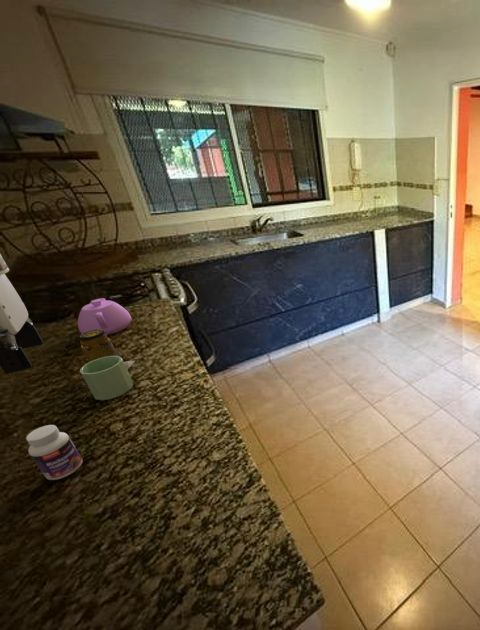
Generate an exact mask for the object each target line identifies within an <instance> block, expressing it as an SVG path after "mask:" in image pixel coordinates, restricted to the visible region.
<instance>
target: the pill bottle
mask: <svg viewBox="0 0 480 630" xmlns="http://www.w3.org/2000/svg"><path fill="white" fill-rule="evenodd" d="M25 440H26V442H27V444H28V445H29V447H28V448H27V449H28V450H27V451H28V455H29V456H30V457H31V459H32V460H33V462H34V463H35V465H36V466H37V468H38V469H39V471H40V472H41V473H42V475H43V476H44V477H45V479H47V480H48V481H56V480H60V479H64V478H66V477H68V476H70V475H72V474H74V473H75V472H76V471H77V470H79V468H81V466H82V464H83V458H82V456H81V455H80V452H79V451H78V449H77V448H76V446H75V444H74V443H73V441H72V439H71V438H70V435H68V434H67V433H66V432H64V431H60V429H59V428H58V427H57V425H56V424H48V425H43V426H40V427H38V428H36V429H34V430H32V431H31V432H29V433H28V434H27V435H26V437H25Z"/></svg>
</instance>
